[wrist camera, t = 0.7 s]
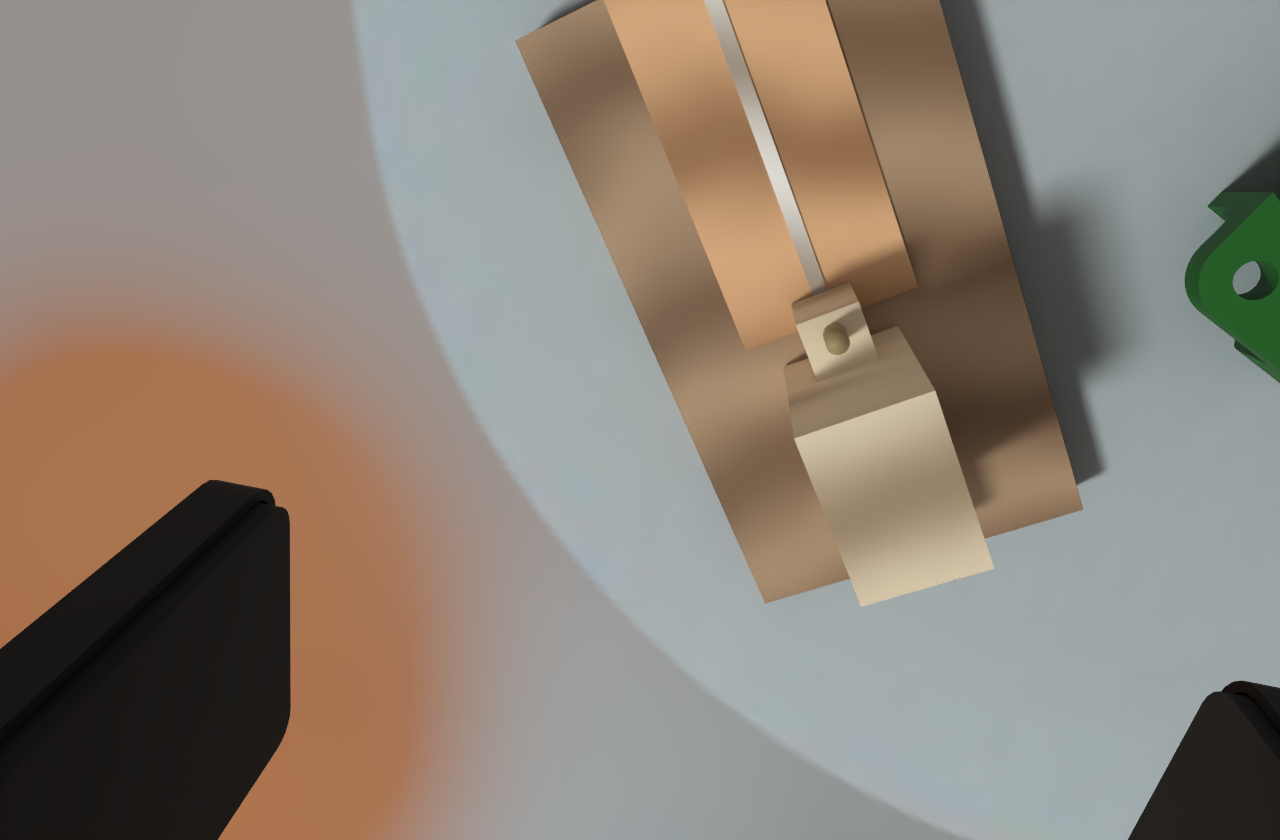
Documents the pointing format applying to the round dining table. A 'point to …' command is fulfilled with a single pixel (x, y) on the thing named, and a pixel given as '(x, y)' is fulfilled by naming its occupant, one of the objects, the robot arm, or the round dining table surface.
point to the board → (802, 238)
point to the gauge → (879, 454)
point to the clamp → (1254, 231)
